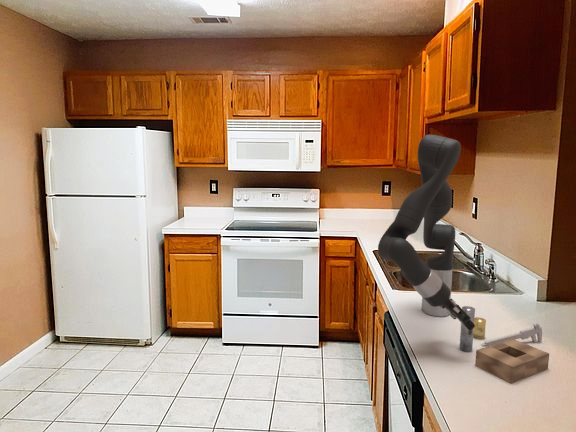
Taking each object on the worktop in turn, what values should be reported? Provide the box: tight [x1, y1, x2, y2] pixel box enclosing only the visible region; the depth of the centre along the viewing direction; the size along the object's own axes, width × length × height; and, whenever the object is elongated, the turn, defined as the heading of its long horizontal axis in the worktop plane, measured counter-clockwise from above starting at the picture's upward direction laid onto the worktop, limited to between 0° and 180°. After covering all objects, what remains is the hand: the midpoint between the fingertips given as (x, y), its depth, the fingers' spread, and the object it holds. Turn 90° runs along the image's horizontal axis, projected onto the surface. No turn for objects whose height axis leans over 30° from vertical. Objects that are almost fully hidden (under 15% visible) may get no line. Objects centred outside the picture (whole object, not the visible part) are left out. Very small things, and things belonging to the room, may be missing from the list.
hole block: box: [474, 339, 550, 384], centre depth 121 cm, size 11×16×4 cm
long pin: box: [458, 305, 476, 353], centre depth 131 cm, size 4×4×13 cm
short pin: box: [473, 316, 487, 340], centre depth 140 cm, size 4×4×6 cm
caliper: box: [480, 323, 543, 348], centre depth 135 cm, size 20×1×6 cm, turn 100°
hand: (464, 322), depth 130 cm, fingers open, 8 cm apart
